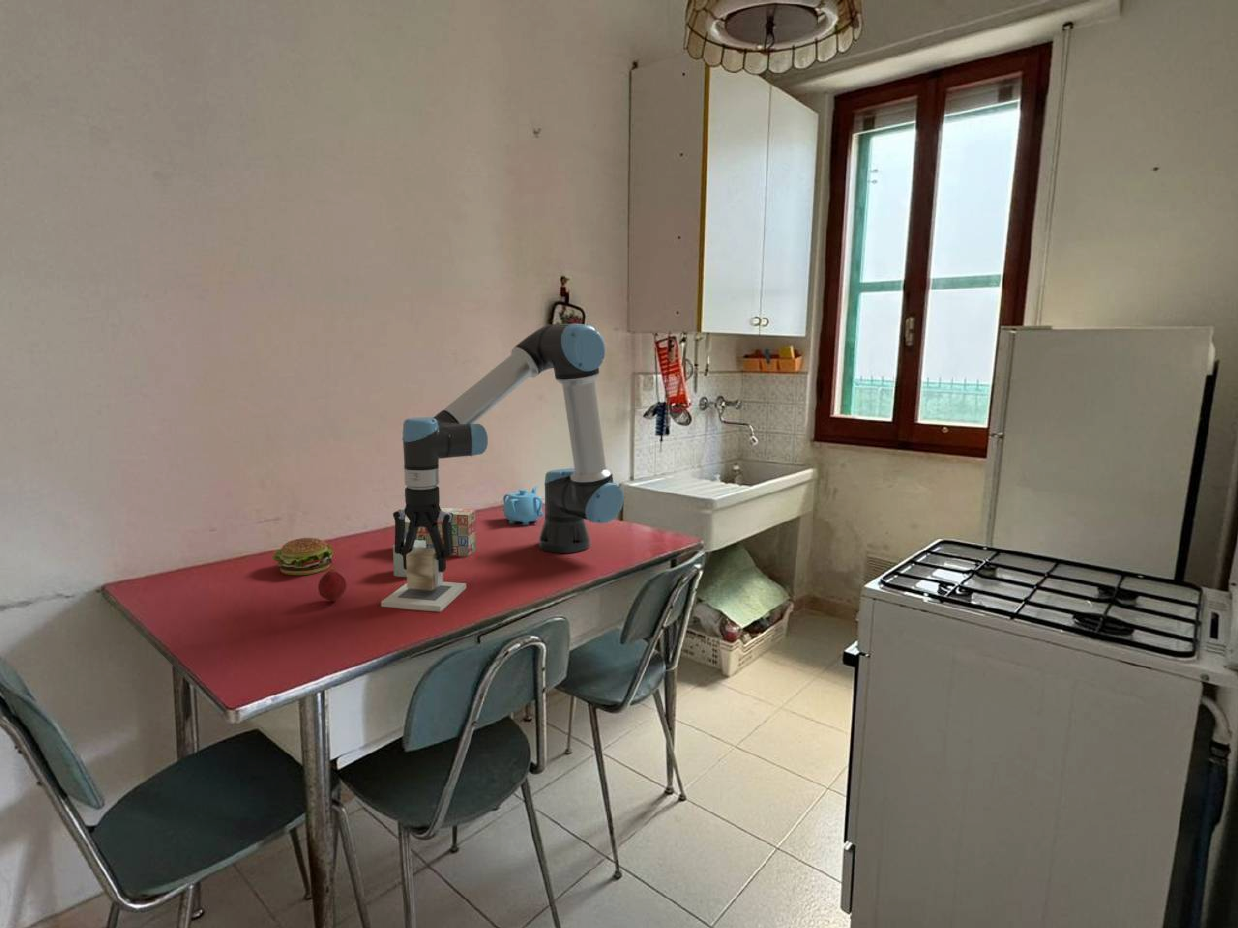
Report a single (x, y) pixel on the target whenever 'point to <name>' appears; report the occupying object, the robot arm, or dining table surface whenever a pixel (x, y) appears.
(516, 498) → the teapot
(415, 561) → the beech block
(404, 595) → the white square base plate
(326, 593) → the onion
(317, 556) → the food
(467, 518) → the stack of blocks
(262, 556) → the dining table surface
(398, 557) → the sage block
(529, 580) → the dining table surface
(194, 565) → the dining table surface
